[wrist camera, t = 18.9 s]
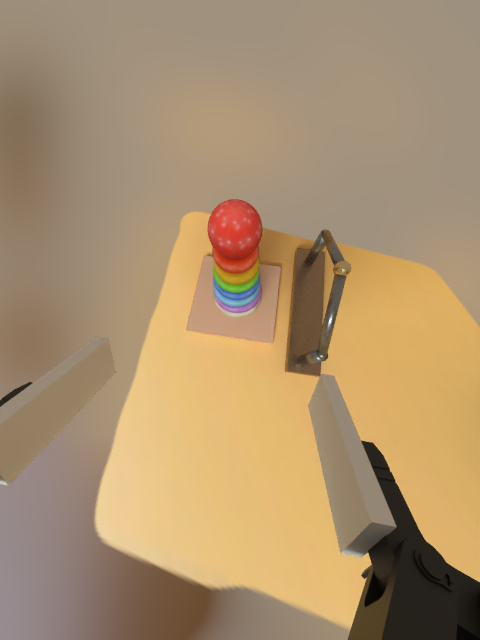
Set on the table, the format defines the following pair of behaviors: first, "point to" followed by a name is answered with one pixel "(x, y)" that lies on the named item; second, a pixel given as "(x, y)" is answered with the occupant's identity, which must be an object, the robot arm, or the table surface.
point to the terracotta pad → (216, 323)
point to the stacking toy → (236, 257)
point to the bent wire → (313, 306)
